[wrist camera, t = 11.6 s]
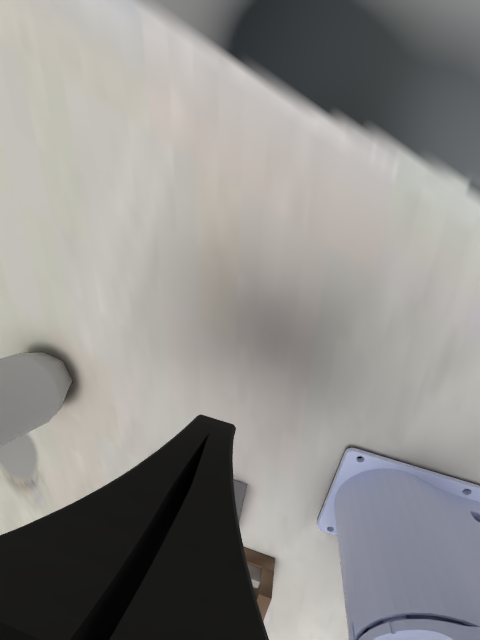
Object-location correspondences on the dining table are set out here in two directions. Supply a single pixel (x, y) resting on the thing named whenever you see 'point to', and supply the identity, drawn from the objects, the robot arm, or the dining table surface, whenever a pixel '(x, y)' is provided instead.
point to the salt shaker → (30, 392)
